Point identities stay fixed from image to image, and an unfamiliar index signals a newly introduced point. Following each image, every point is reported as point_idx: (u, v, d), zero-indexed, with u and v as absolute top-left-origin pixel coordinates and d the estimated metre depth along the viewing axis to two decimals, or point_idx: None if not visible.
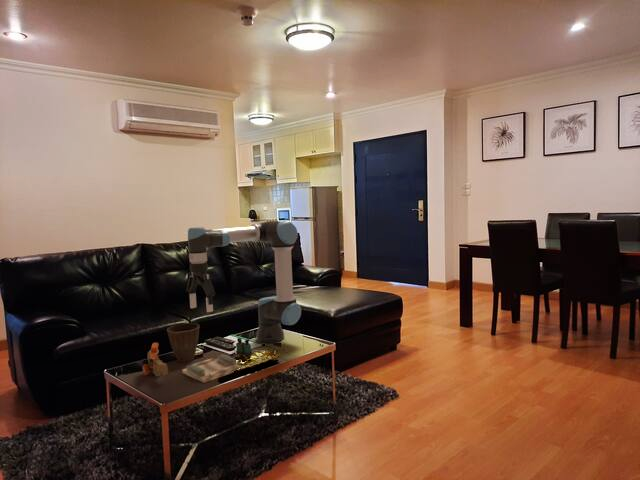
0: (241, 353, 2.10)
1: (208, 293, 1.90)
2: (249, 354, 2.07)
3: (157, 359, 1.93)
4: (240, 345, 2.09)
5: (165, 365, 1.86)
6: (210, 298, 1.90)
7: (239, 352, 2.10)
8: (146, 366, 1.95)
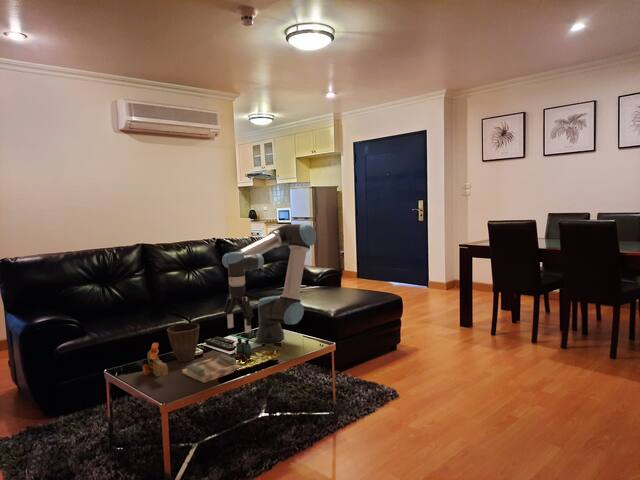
0: (241, 353, 2.10)
1: None
2: (249, 354, 2.07)
3: (157, 359, 1.93)
4: (240, 345, 2.09)
5: (165, 365, 1.86)
6: (249, 319, 2.01)
7: (239, 352, 2.10)
8: (146, 366, 1.95)
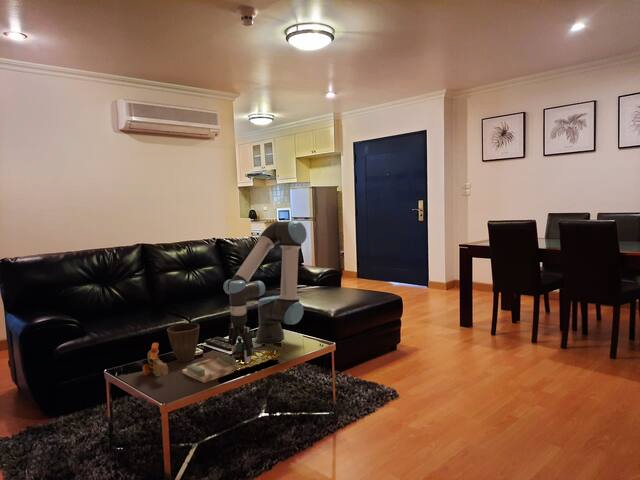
0: (241, 353, 2.10)
1: None
2: None
3: (157, 359, 1.93)
4: (240, 345, 2.09)
5: (165, 365, 1.86)
6: (248, 350, 2.03)
7: (239, 352, 2.10)
8: (146, 366, 1.95)
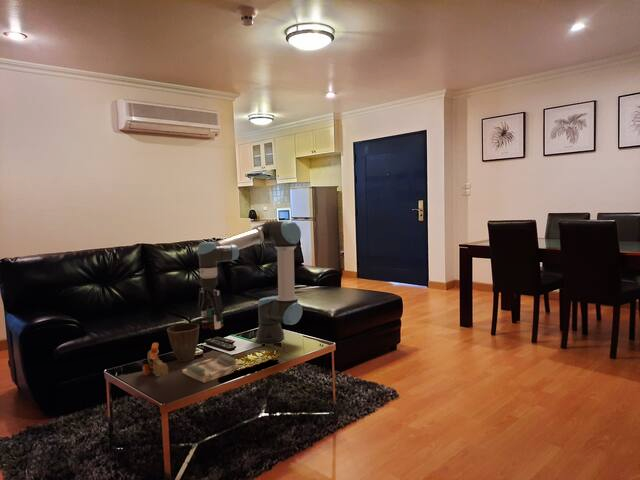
0: (211, 319, 1.99)
1: (216, 310, 1.92)
2: None
3: (157, 359, 1.93)
4: (210, 310, 1.98)
5: (165, 365, 1.86)
6: (218, 315, 1.92)
7: (209, 317, 1.99)
8: (146, 367, 1.95)
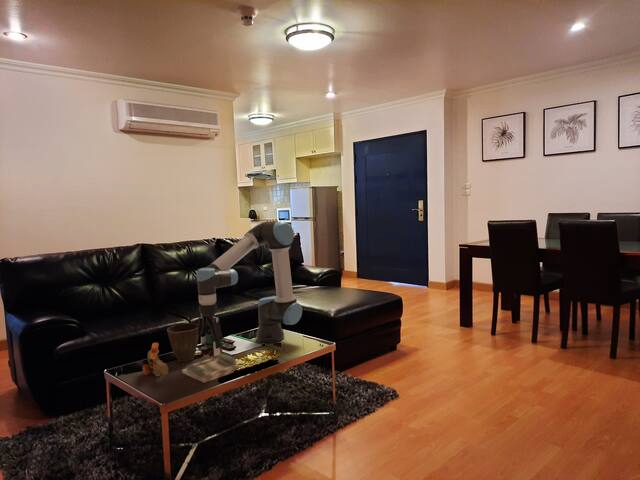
0: (211, 345, 1.99)
1: None
2: None
3: (157, 359, 1.93)
4: (210, 336, 1.98)
5: (165, 365, 1.86)
6: (217, 342, 1.92)
7: (209, 343, 1.99)
8: (146, 366, 1.95)
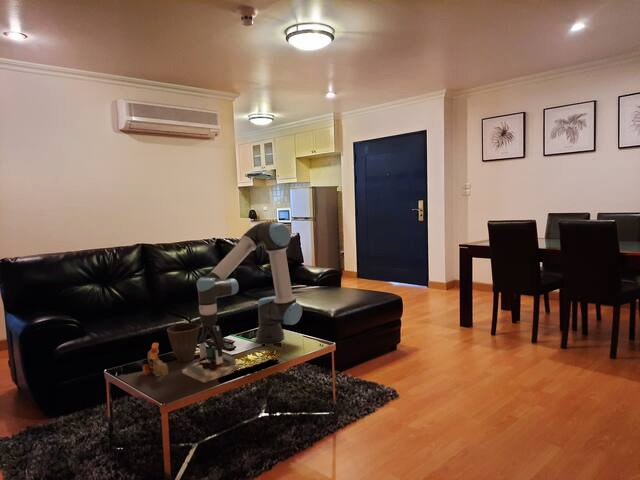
0: (212, 358, 1.99)
1: (218, 345, 1.91)
2: None
3: (157, 359, 1.93)
4: (210, 350, 1.99)
5: (165, 365, 1.86)
6: (220, 350, 1.91)
7: (209, 357, 2.00)
8: (146, 367, 1.95)
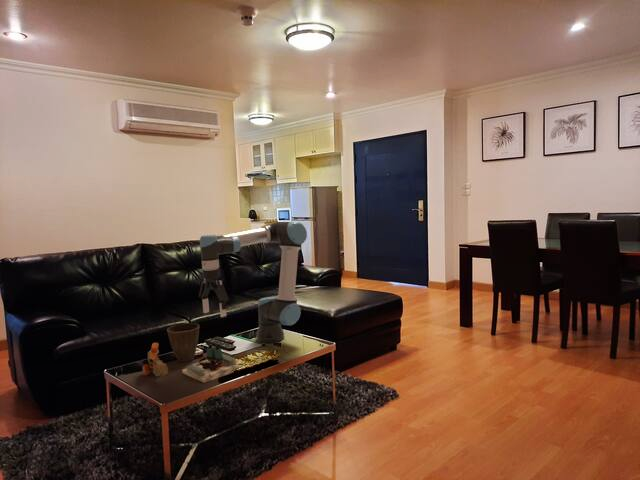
0: (212, 358, 1.99)
1: (221, 299, 1.97)
2: (220, 360, 1.97)
3: (157, 359, 1.93)
4: (210, 350, 1.99)
5: (165, 365, 1.86)
6: (223, 303, 1.97)
7: (209, 357, 2.00)
8: (146, 367, 1.95)
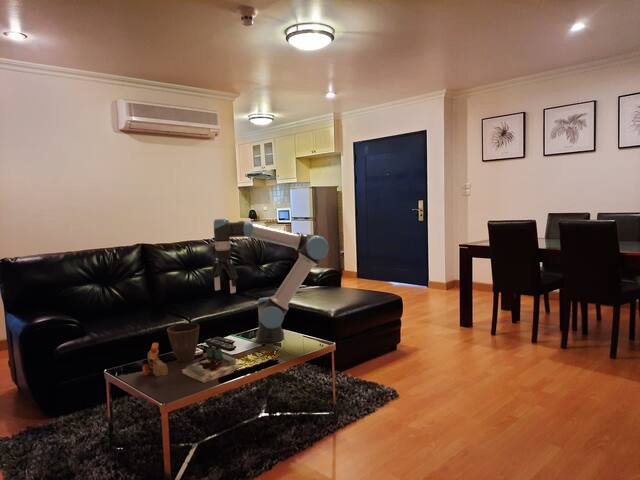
0: (212, 358, 1.99)
1: None
2: (220, 360, 1.97)
3: (157, 359, 1.93)
4: (210, 350, 1.99)
5: (165, 365, 1.85)
6: (233, 280, 2.17)
7: (209, 357, 2.00)
8: (146, 367, 1.95)
